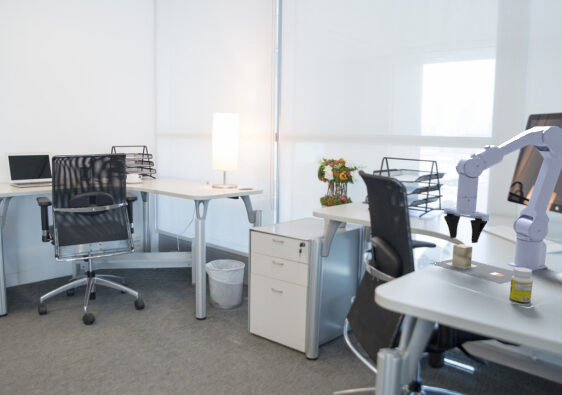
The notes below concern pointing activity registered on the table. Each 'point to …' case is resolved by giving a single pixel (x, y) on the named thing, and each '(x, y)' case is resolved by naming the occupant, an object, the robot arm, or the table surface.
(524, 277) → the supplement bottle
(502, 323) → the table surface
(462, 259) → the birch block
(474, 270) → the mat
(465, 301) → the table surface
